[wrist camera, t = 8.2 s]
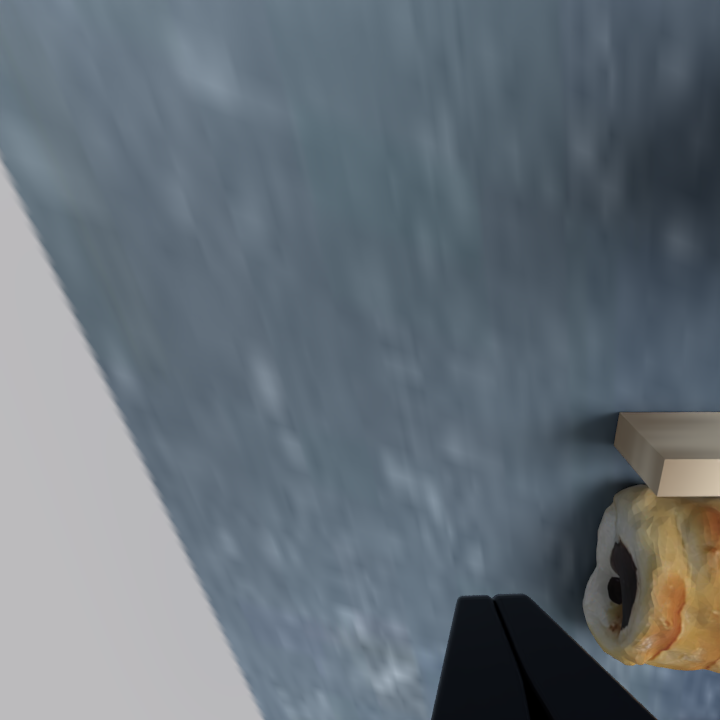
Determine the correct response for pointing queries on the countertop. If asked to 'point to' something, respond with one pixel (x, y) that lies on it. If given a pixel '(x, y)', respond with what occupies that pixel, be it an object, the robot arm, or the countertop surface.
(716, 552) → the pastry
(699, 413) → the beige piece
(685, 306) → the countertop surface
